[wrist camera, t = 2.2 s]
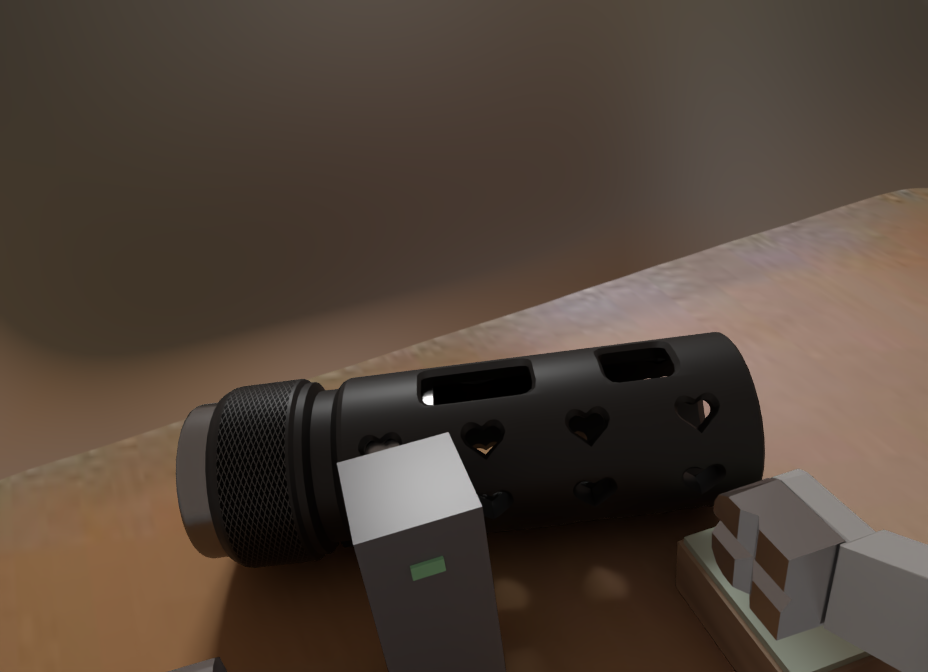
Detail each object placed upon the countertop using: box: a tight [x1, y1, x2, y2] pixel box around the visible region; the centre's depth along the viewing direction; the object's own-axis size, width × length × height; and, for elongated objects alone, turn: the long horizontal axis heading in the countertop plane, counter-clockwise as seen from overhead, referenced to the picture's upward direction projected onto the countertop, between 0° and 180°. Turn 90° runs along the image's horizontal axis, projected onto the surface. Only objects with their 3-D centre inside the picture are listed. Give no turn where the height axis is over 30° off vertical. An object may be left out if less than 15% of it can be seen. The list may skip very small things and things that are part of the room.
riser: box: [676, 527, 901, 672], centre depth 31 cm, size 8×8×4 cm
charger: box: [337, 432, 506, 672], centre depth 28 cm, size 4×5×12 cm
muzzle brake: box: [176, 332, 765, 568], centre depth 37 cm, size 10×28×10 cm, turn 93°
